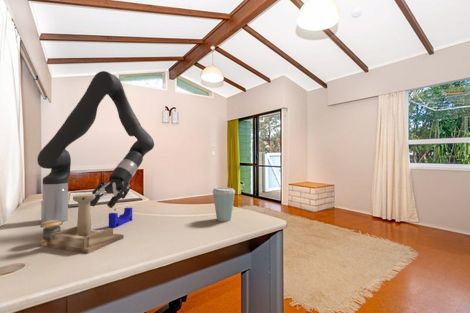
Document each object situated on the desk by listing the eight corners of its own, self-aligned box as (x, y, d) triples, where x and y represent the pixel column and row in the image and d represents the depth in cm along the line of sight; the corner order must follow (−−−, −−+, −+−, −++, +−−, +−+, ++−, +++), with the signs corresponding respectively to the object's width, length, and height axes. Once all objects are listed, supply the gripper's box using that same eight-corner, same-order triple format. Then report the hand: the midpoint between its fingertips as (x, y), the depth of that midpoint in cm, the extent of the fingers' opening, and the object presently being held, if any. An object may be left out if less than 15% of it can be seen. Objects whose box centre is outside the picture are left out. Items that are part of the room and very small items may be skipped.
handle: (74, 238, 80) (74, 195, 80) (95, 235, 83) (95, 193, 83) (71, 243, 76) (71, 197, 76) (94, 240, 79) (94, 195, 79)
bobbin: (35, 244, 78) (35, 223, 78) (54, 238, 83) (54, 219, 83) (48, 246, 76) (48, 225, 76) (66, 240, 82) (66, 220, 82)
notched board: (46, 246, 76) (46, 233, 76) (85, 233, 89) (85, 222, 90) (88, 253, 71) (88, 239, 71) (123, 238, 84) (123, 226, 84)
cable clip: (123, 220, 109) (123, 207, 109) (132, 220, 108) (132, 207, 108) (105, 227, 97) (105, 213, 97) (115, 228, 96) (115, 213, 96)
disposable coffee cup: (235, 216, 114) (234, 186, 114) (235, 223, 103) (235, 189, 103) (213, 216, 114) (213, 186, 114) (211, 223, 103) (211, 189, 103)
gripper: (105, 166, 96) (78, 198, 85) (133, 166, 91) (109, 201, 81) (115, 178, 101) (92, 210, 90) (142, 178, 96) (121, 213, 86)
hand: (100, 205), depth 85 cm, fingers open, 8 cm apart
